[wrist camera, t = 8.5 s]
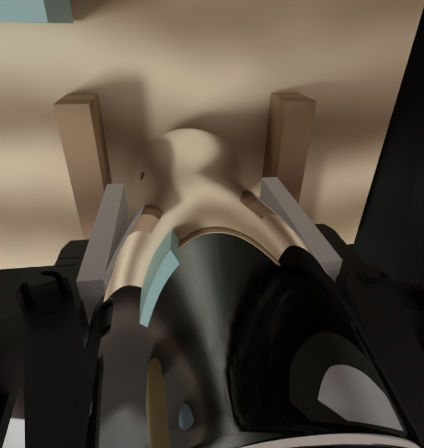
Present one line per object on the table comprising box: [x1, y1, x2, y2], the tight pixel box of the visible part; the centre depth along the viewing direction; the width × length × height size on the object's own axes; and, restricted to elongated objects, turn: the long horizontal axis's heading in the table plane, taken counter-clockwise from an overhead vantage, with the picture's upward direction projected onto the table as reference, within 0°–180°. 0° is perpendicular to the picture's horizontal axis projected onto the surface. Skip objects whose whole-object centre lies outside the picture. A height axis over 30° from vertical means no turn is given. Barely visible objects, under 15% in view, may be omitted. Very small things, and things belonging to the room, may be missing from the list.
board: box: [0, 0, 424, 269], centre depth 17 cm, size 17×26×4 cm, turn 89°
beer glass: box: [71, 128, 424, 448], centre depth 12 cm, size 7×7×15 cm
